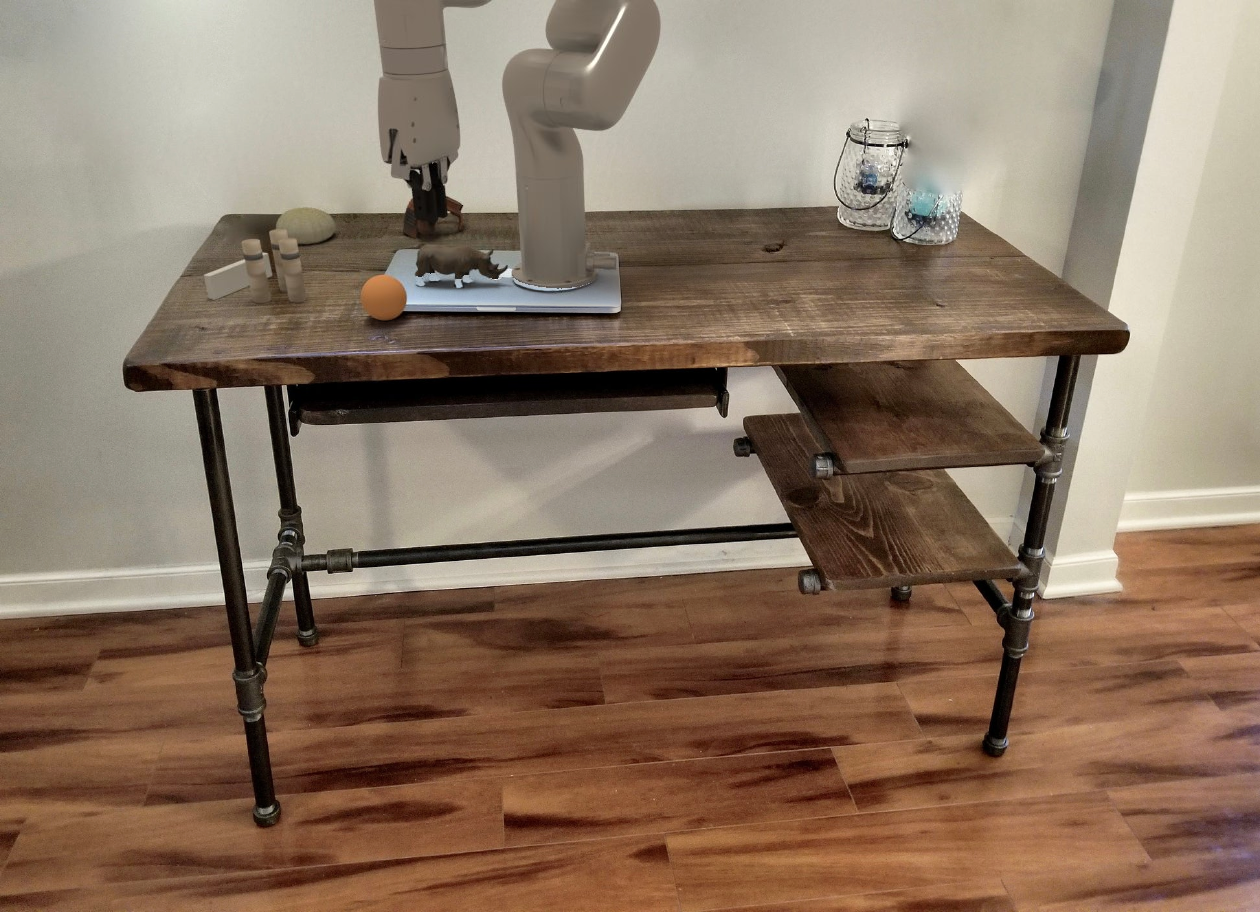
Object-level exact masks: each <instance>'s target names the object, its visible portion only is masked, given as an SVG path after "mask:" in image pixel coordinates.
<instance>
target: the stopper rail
mask: <svg viewBox="0 0 1260 912" xmlns="http://www.w3.org/2000/svg"><path fill="white" fill-rule="evenodd" d="M262 253H263V260H264V266H265V271H266V276H267V279H268V278H271V277H273V271H272V267H271V262H270V257H269V253H267V252H263V251H262ZM203 278H204V279H203V280H204V282H205V283H204V284H205V288H206V292H207V296H208V299H210V300H213V301H216V300H218V299H220V298H224V297H225V296H228V295H230V294H232V293H235V292H238V291H240V290H242V289H245V288H247V287H250V283H249V278H248V273H247V268H246V263H245V259H244V258H243V259H241V260H239V261H236V262H234V263H231V264H229V265H226V266H223V267H221V268H219V269H216V270H212V271H211V272H208V273H205V274H203Z"/></svg>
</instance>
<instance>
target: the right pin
mask: <svg viewBox="0 0 1260 912" xmlns="http://www.w3.org/2000/svg"><path fill="white" fill-rule="evenodd" d="M268 234H269V238H270V246H271V250H272V253H273V256H272V257H273V261H274V266H275V271H276V276H277V280H278V281H277V282H278V286H279V291H280V292H283V293H288V291H287V286H286V280H285V275H284V269H283V264H282V259H281V255H280V248H279V242H278V241H279V240H282V239H286V238H288V234H287V230H285V229H276V228H275V229H272V230H270V231H269V233H268Z"/></svg>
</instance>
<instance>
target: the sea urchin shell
mask: <svg viewBox="0 0 1260 912" xmlns="http://www.w3.org/2000/svg"><path fill="white" fill-rule="evenodd" d="M336 227H337V226H336V222H335V220H334V219H333V217H332V215H330V214H329V213H327V212H325V211H324V210H322V209H319V208H313V207H306V206H305V207H294V208H292V209H289V210H287V211H285V212H283V213H281V215H280V216H279V218H278V219H277V221H276V224H275V229H285V230H287V234H288V238H294V239H296V240H297V245H311V244H318V243H320V242H323V241H327V240H328V239H329V238H331V237H332V236H333V234H334V233H335V230H336Z"/></svg>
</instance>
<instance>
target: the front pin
mask: <svg viewBox="0 0 1260 912" xmlns="http://www.w3.org/2000/svg"><path fill="white" fill-rule="evenodd" d="M278 242H279V248H280V255H281V259H282V264H283V269H284V275H285V280H286V286H287V291H288V292H287V295H288V301H289V302H290V303H295V304H296V303H302V302H305V301H307V300H308V299H307V298H308V297H307V292H306V285H305V280H304V275H303V268H302V264H301V258H300V257H301V256H300V255H301V254H300V249H299V246H298V245H299V244H297V240H296V239H294V238H286V239H282V240H279V241H278Z"/></svg>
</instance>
